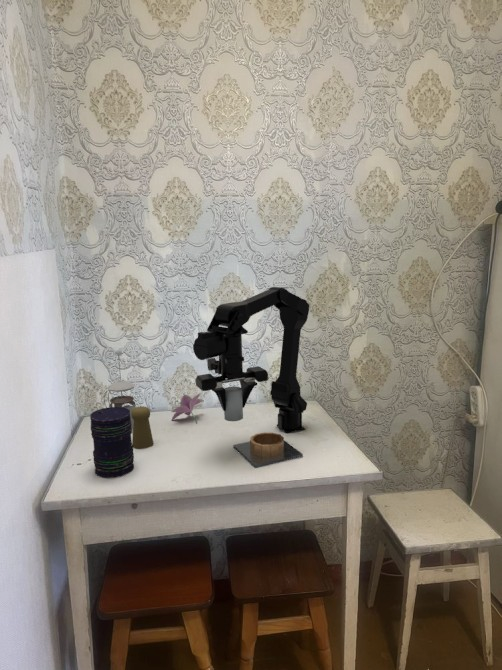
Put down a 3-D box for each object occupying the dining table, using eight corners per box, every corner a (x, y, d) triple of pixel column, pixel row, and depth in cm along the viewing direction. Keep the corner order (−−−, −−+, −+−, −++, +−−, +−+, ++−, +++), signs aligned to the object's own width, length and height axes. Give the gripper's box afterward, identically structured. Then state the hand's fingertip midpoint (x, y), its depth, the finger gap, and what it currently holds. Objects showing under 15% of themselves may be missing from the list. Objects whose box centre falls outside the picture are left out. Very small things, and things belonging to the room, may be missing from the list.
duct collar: (277, 438, 146) (277, 425, 145) (302, 456, 133) (302, 443, 132) (233, 447, 140) (232, 434, 139) (254, 468, 127) (254, 453, 127)
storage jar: (141, 462, 132) (137, 408, 129) (123, 479, 123) (119, 421, 120) (106, 459, 134) (102, 405, 131) (86, 476, 125) (81, 419, 122)
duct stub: (238, 413, 139) (237, 385, 137) (246, 419, 134) (245, 390, 133) (221, 416, 137) (220, 388, 135) (228, 422, 132) (227, 393, 131)
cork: (143, 438, 147) (141, 402, 145) (158, 443, 144) (155, 406, 142) (127, 445, 143) (124, 408, 140) (142, 450, 139) (139, 412, 137)
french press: (124, 437, 148) (118, 355, 143) (96, 431, 154) (89, 351, 149) (147, 426, 157) (141, 348, 152) (119, 420, 162) (113, 344, 158)
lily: (209, 417, 167) (197, 390, 168) (214, 414, 156) (201, 386, 157) (176, 433, 164) (164, 406, 165) (179, 432, 152) (166, 403, 153)
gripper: (251, 342, 143) (252, 394, 146) (187, 350, 135) (191, 405, 139) (268, 350, 133) (269, 406, 136) (201, 359, 125) (204, 418, 129)
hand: (233, 408), depth 135 cm, fingers closed on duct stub, 5 cm apart
